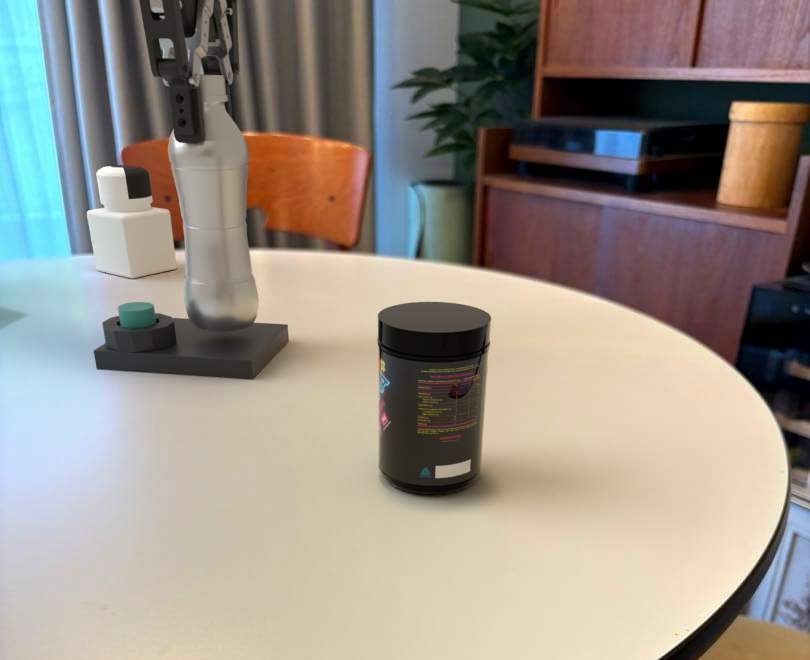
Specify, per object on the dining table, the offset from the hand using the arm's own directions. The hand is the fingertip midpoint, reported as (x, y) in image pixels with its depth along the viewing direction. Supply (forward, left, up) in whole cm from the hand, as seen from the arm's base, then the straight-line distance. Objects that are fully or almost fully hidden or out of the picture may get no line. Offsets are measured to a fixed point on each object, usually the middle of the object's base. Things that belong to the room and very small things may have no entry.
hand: (205, 138), depth 67 cm
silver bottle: (0, 0, -16) cm, 16 cm away
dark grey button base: (-2, -1, -18) cm, 18 cm away
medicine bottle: (-22, +30, -18) cm, 42 cm away
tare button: (-6, -4, -15) cm, 16 cm away
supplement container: (+22, -22, -18) cm, 36 cm away
